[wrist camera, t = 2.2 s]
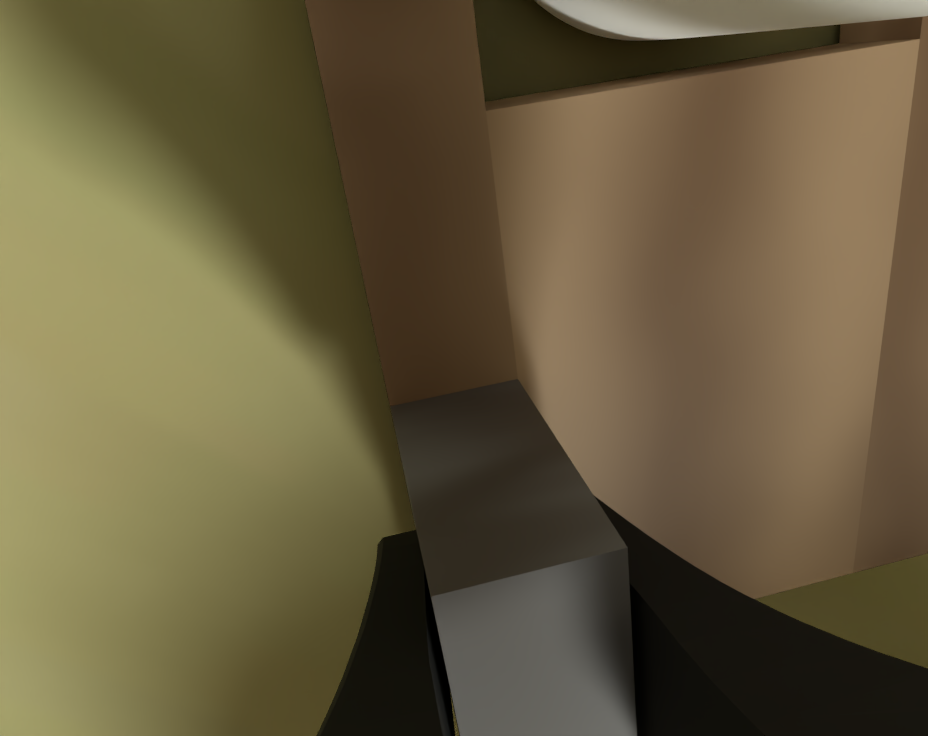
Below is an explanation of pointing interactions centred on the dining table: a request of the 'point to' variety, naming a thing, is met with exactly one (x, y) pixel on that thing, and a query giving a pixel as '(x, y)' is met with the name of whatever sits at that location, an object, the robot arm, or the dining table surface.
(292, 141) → the dining table surface
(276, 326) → the dining table surface
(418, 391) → the tan channel tray
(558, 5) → the can
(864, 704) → the robot arm
